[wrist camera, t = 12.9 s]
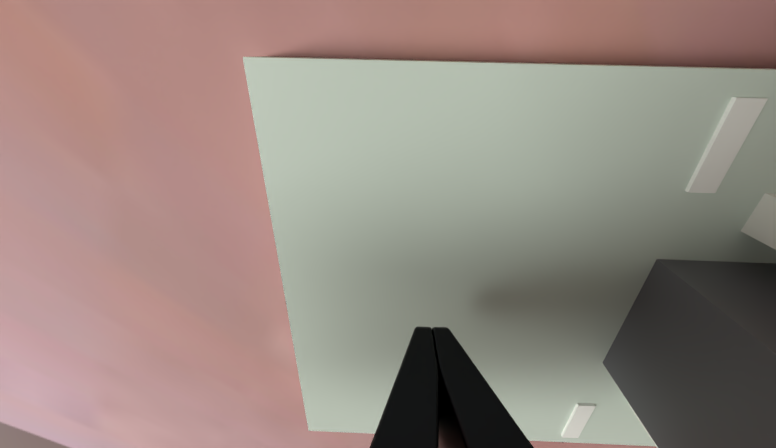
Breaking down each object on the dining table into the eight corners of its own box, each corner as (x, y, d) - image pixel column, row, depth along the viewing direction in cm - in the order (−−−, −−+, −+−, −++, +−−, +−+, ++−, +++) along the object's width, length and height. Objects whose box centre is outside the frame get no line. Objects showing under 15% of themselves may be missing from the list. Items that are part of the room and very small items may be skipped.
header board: (315, 401, 13) (282, 541, 10) (265, 56, 7) (111, 60, 3) (720, 418, 13) (855, 570, 9) (1030, 74, 7) (1830, 101, 3)
